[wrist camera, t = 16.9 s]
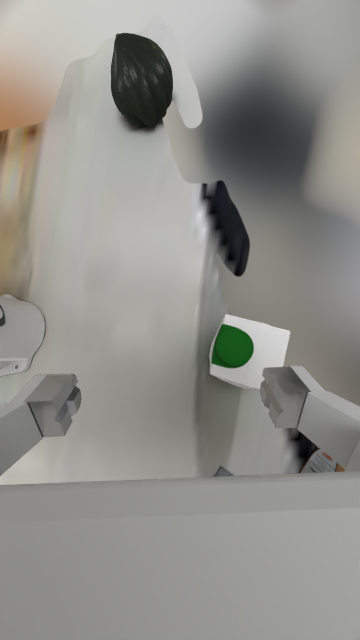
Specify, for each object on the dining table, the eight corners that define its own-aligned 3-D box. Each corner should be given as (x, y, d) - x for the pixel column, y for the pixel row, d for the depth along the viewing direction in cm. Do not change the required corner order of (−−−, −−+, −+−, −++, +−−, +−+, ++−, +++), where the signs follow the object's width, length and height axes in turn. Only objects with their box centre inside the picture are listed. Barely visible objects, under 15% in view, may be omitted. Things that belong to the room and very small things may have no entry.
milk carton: (214, 328, 44) (224, 303, 24) (258, 341, 42) (306, 324, 23) (203, 370, 42) (203, 379, 23) (248, 384, 41) (290, 407, 21)
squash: (194, 85, 49) (151, -10, 40) (150, 131, 49) (97, 45, 40) (169, 110, 61) (131, 40, 52) (133, 148, 60) (89, 83, 51)
